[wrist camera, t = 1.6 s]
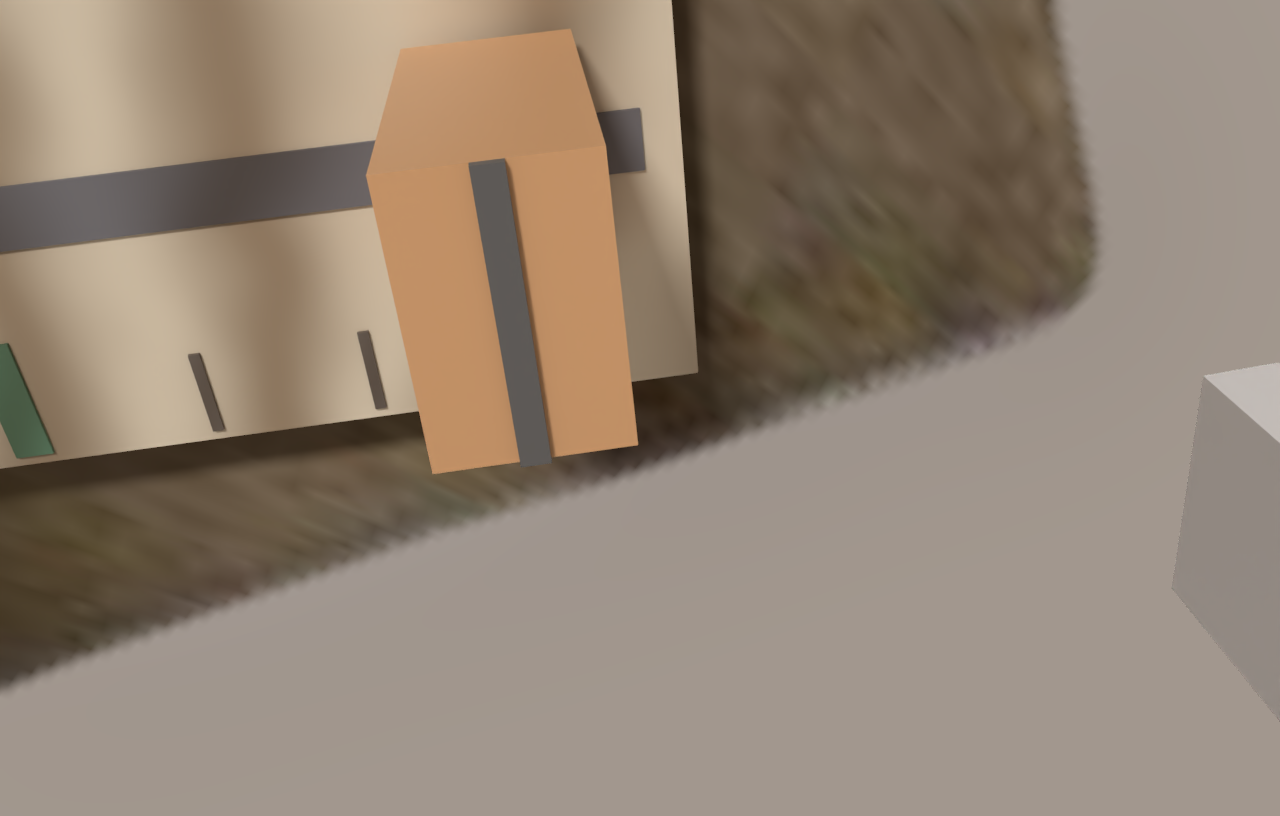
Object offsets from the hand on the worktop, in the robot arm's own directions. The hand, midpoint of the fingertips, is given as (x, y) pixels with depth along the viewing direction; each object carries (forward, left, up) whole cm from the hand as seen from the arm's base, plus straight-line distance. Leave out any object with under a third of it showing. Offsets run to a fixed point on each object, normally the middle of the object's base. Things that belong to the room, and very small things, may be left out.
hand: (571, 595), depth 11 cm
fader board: (-8, -1, -21) cm, 22 cm away
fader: (-1, -1, -18) cm, 19 cm away
